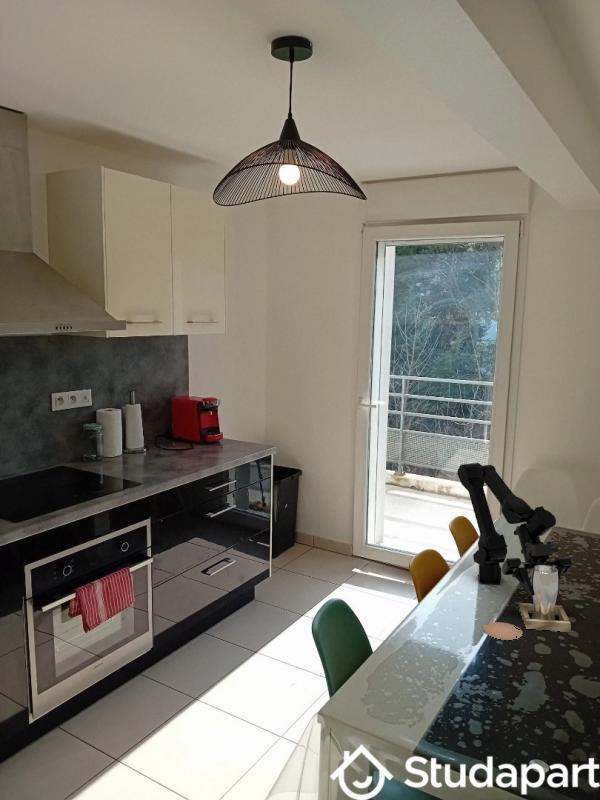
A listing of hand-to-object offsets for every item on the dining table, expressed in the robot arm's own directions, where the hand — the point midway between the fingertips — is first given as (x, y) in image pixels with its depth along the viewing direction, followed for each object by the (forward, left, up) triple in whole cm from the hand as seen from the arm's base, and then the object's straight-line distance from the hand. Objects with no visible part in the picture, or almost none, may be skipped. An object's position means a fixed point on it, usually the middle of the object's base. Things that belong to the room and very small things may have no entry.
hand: (544, 595), depth 176 cm
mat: (-12, -8, -8) cm, 16 cm away
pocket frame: (0, 0, -8) cm, 8 cm away
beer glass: (0, 0, -8) cm, 8 cm away
